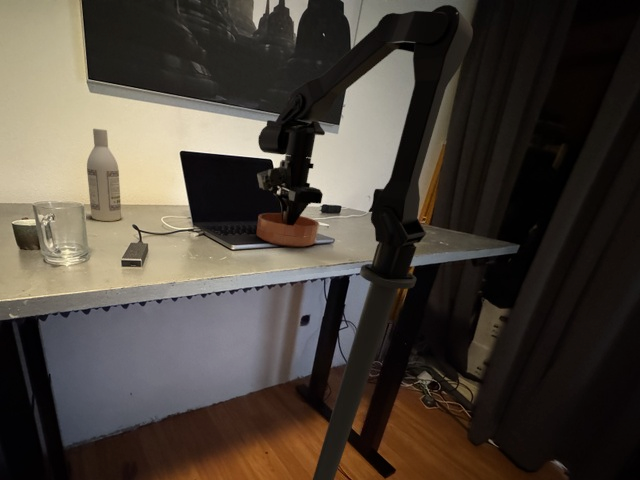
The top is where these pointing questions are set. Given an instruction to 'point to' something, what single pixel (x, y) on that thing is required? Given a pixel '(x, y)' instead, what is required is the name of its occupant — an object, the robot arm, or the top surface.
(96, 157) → the bath foam
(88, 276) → the top surface
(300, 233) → the bowl
